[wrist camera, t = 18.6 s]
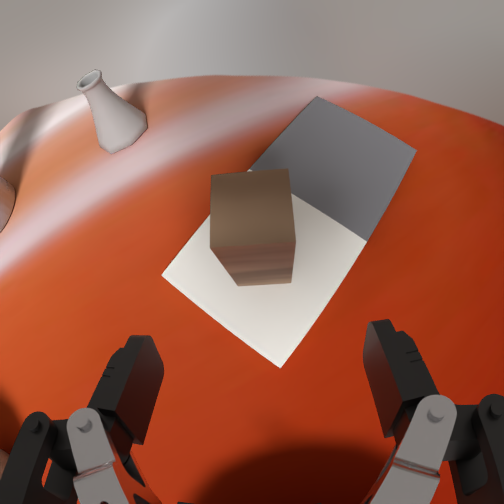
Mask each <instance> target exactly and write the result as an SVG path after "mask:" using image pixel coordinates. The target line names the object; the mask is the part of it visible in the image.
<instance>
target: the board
mask: <svg viewBox="0 0 504 504" xmlns="http://www.w3.org/2000/svg"><path fill="white" fill-rule="evenodd" d="M416 151H417V150H415V149H414V148H412V147H410V146H409V145H407V144H406V143H404V142H402V141H401V140H399V139H398V138H396V137H394V136H393V135H391V134H389V133H387V132H386V131H384V130H382V129H380V128H379V127H377V126H375V125H373V124H372V123H370V122H368V121H366V120H364V119H362V118H360V117H359V116H357V115H355V114H353V113H351V112H349V111H347V110H345V109H343V108H341V107H339V106H337V105H335V104H333V103H331V102H328V101H326V100H324V99H322V98H320V97H318V96H317V97H316V98H315V99H314V100H313V101H312V102H311V103H310V104H309V105H308V106H307V107H306V108H305V109H304V110H303V111H302V112H301V113H300V114H299V115H298V116H297V117H296V118H295V119H294V120H293V122H292V123H291V124H290V125H289V126H288V127H287V128H286V129H285V130H284V131H283V132H282V133H281V134H280V135H279V137H278V138H277V139H276V140H275V141H274V142H273V143H272V144H271V145H270V146H269V147H268V149H267V150H266V151H265V152H264V153H263V154H262V155H261V156H260V157H259V159H258V160H257V161H256V162H255V163H254V164H253V165H252V166H251V168H250V169H249V170H248V171H259V170H272V169H287V168H288V170H289V178H290V187H291V196H292V205H293V215H294V225H295V235H296V247H295V256H294V264H293V273H292V281H291V283H286V284H271V285H254V286H237V284H236V283H235V282H234V280H233V279H232V278H231V276H230V275H229V274H228V272H227V271H226V269H225V268H224V267H223V265H222V264H221V263H220V261H219V260H218V259H217V257H216V256H215V254H214V253H213V252H212V250H211V249H210V215H209V216H208V218H207V219H206V220H205V221H204V223H203V224H202V225H201V226H200V227H199V229H198V230H197V231H196V232H195V233H194V235H193V236H192V237H191V238H190V240H189V241H188V242H187V243H186V245H185V246H184V247H183V248H182V250H181V251H180V252H179V253H178V255H177V256H176V257H175V258H174V260H173V261H172V262H171V263H170V265H169V266H168V267H167V269H166V270H165V271H164V272H163V274H162V276H163V277H164V278H165V279H166V280H168V281H169V282H170V283H171V284H172V285H173V286H175V287H176V288H177V289H178V290H179V291H181V292H182V293H183V294H184V295H185V296H187V297H188V298H189V299H190V300H192V301H193V302H194V303H195V304H196V305H198V306H199V307H200V308H201V309H203V310H204V311H205V312H206V313H208V314H209V315H210V316H211V317H213V318H214V319H215V320H216V321H218V322H219V323H220V324H221V325H223V326H224V327H225V328H227V329H228V330H229V331H231V332H232V333H233V334H234V335H236V336H237V337H238V338H240V339H241V340H242V341H244V342H245V343H246V344H248V345H249V346H250V347H252V348H253V349H254V350H256V351H257V352H258V353H260V354H261V355H263V356H264V357H265V358H267V359H268V360H269V361H271V362H272V363H274V364H275V365H276V366H278V367H279V368H281V367H282V365H283V364H284V363H285V362H286V360H287V359H288V358H289V356H290V355H291V354H292V352H293V351H294V350H295V348H296V347H297V346H298V344H299V343H300V342H301V340H302V339H303V337H304V336H305V335H306V333H307V332H308V330H309V329H310V328H311V326H312V325H313V323H314V322H315V321H316V319H317V318H318V316H319V315H320V313H321V312H322V311H323V309H324V308H325V306H326V305H327V303H328V302H329V300H330V299H331V297H332V296H333V294H334V293H335V291H336V290H337V288H338V287H339V285H340V284H341V282H342V281H343V279H344V278H345V276H346V275H347V273H348V271H349V270H350V268H351V267H352V265H353V264H354V262H355V260H356V259H357V257H358V256H359V254H360V252H361V251H362V249H363V247H364V246H365V244H366V242H367V241H368V239H369V237H370V236H371V234H372V232H373V231H374V229H375V227H376V226H377V224H378V222H379V220H380V219H381V217H382V215H383V213H384V212H385V210H386V208H387V206H388V204H389V203H390V201H391V199H392V197H393V195H394V194H395V192H396V190H397V188H398V186H399V184H400V182H401V180H402V179H403V177H404V175H405V173H406V171H407V169H408V167H409V165H410V163H411V161H412V159H413V157H414V155H415V153H416ZM248 171H247V172H248Z"/></svg>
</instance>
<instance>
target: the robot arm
mask: <svg viewBox="0 0 504 504" xmlns="http://www.w3.org/2000/svg"><path fill="white" fill-rule="evenodd" d="M14 201H15V189H14V187H13V186H12V185H11V184H10V183H8V182H7V181H6V180H5V179H3V178H2V177H0V232H1V230H2V229H3V228H4V226H5V224H6V223H7V221H8V219H9V217H10V214H11V212H12V209H13V206H14ZM363 363H364V368H365V371H366V374H367V378H368V381H369V384H370V388H371V391H372V394H373V398H374V401H375V405H376V408H377V412H378V416H379V419H380V423H381V427H382V430H383V434H384V438H387V437H391V436H394V438H395V441H396V444H395V446H394V448H393V450H392V452H391V454H390V456H389V458H388V459H387V461H386V463H385V465H384V467H383V469H382V470H381V472H380V474H379V476H378V477H377V479H376V481H375V483H374V484H373V486H372V487H371V489H370V490H369V492H368V493H367V495H366V496H365V498H364V499H363V501H362V502H361V503H360V504H429V503H430V501H431V499H432V497H433V495H434V493H435V490H436V488H437V486H438V483H439V480H440V474H438V471H439V468H440V465H441V462H442V461H448V462H449V466H450V470H451V474H452V479H453V483H454V488H455V493H456V498H457V503H458V504H504V397H503V396H501V395H498V394H490V395H487V396H486V397H484V398H483V399H482V400H481V402H480V403H479V405H455V404H454V403H453V402H452V401H451V400H450V399H449V398H447V397H445V396H442V395H440V394H439V392H438V390H437V388H436V386H435V384H434V382H433V379H432V377H431V375H430V373H429V371H428V369H427V367H426V365H425V363H424V361H423V360H422V357H421V355H420V353H419V352H418V349H417V347H416V345H415V343H414V341H413V339H412V338H411V337H410V336H408V335H407V334H406V333H405V332H404V331H399V332H396V331H395V329H394V327H393V325H392V323H391V321H390V320H389V319H385V320H379V321H372V322H369V323H368V326H367V332H366V338H365V343H364V349H363ZM163 376H164V366H163V362H162V360H161V358H160V355H159V353H158V351H157V348H156V346H155V344H154V341H153V339H152V337H151V336H148V335H131V336H130V337H129V339H128V341H127V343H126V345H125V347H124V348H119V349H118V350H117V351H116V352H115V353H114V354H113V355H112V356H111V358H110V360H109V362H108V364H107V366H106V369H105V370H104V372H103V374H102V377H101V379H100V381H99V383H98V385H97V387H96V389H95V391H94V393H93V395H92V398H91V400H90V402H89V404H88V406H87V408H82V409H79V410H77V411H75V412H74V413H73V414H72V415H71V416H70V417H69V419H65V420H51V419H50V418H49V417H48V416H47V415H46V414H45V413H43V412H34V413H32V414H30V415H29V416H28V417H27V418H26V419H25V421H24V422H23V425H22V427H21V429H20V431H19V434H18V436H17V438H16V441H15V443H14V445H13V448H12V450H11V453H10V455H9V458H8V460H7V463H6V465H5V468H4V471H3V474H2V476H1V479H0V504H77V500H78V499H79V502H80V504H162V502H161V501H160V500H159V499H158V497H157V496H156V495H155V494H154V493H153V491H152V490H151V488H150V487H149V485H148V483H147V481H146V479H145V477H144V475H143V473H142V471H141V469H140V467H139V465H138V463H137V461H136V459H135V457H134V455H133V453H132V451H131V447H132V443H134V444H140V445H143V444H144V440H145V436H146V433H147V430H148V426H149V423H150V419H151V416H152V413H153V409H154V406H155V403H156V399H157V396H158V393H159V390H160V386H161V383H162V380H163ZM48 458H49V459H51V460H52V464H51V467H50V470H49V473H48V476H47V479H46V482H45V485H44V488H43V486H42V481H41V480H42V476H43V473H44V470H45V467H46V464H47V461H48ZM177 504H192V503H184V502H178V503H177ZM319 504H321V503H319Z"/></svg>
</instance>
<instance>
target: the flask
mask: <svg viewBox="0 0 504 504" xmlns="http://www.w3.org/2000/svg"><path fill="white" fill-rule="evenodd" d="M76 88H77V89H78V90H79V91H82V92H83V93H84V95H85V96H86V98H87V100H88V103H89V105H90V108H91V110H92V115H93V119H94V123H95V127H96V132H97V137H98V141H99V145H100V147H101V148H102V149H104V150H106V151H107V152H109V153H110V154H113V153H115V152H117V151H119V150H121V149H124V148H126V147H128V146H130V145H132V144H133V143H134V142H135V141H136V140H137V139H138V138H139V136H140V135H141V134H142V133H143V132H144V131H145V130H146V129H147V123H146V115H145V114H144V113H143V112H141V111H140V110H138V109H137V108H135V107H134V106H132V105H131V104H129V103H128V102H126V101H125V100H124V99H122V98H121V97H119V96H118V95H117V94H115V93H114V92H113V91H112V90H111V89H110V88H109V87H108V86H107V85H106V84H105V82H104V81H103V79H102V73H101V71H100V70H93V71H91V72H89V73H88V74H86V75H85V76H84V77H82V78H81V79H80V80H79V81H78V83H77V87H76Z"/></svg>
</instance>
